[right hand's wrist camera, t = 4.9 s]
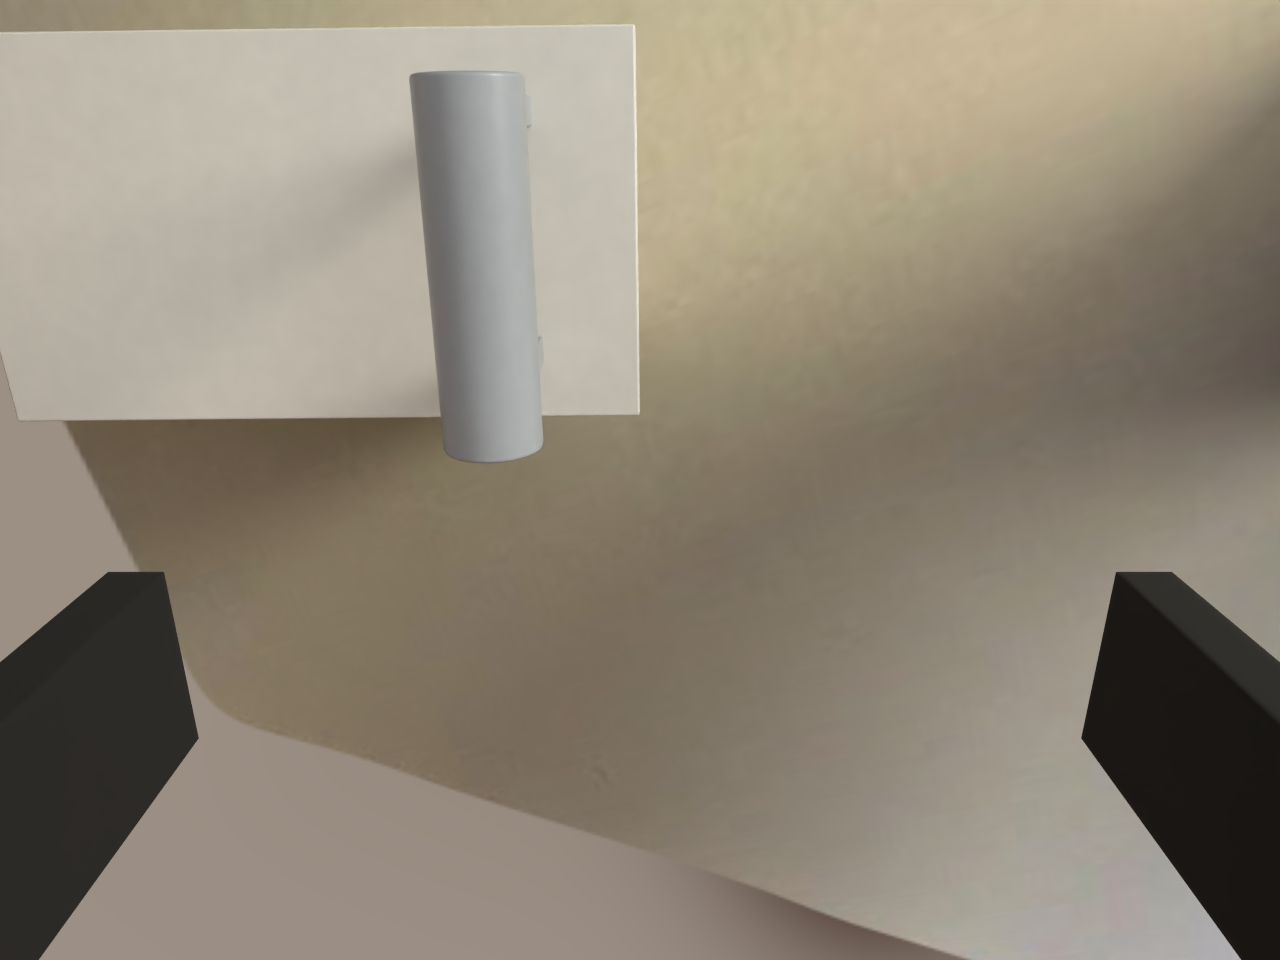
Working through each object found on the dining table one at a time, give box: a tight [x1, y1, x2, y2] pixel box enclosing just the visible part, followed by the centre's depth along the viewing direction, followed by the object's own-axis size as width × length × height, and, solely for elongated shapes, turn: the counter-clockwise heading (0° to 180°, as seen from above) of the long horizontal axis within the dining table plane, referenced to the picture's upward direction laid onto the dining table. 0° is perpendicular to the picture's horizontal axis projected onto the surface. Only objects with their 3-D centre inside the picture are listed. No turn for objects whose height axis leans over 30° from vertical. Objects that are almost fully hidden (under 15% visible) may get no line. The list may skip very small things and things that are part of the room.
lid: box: [0, 24, 640, 463], centre depth 20 cm, size 17×10×8 cm, turn 91°
